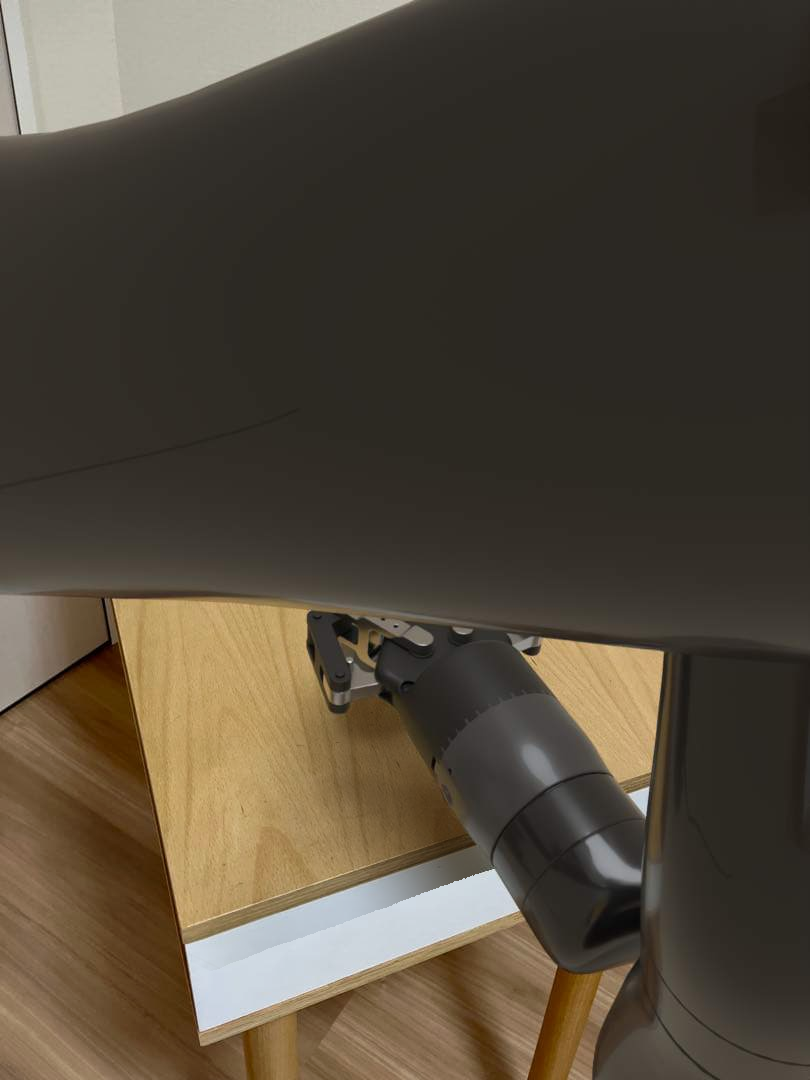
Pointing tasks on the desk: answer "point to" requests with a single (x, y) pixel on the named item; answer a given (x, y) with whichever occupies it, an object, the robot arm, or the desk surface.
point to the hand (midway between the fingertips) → (371, 561)
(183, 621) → the desk surface
